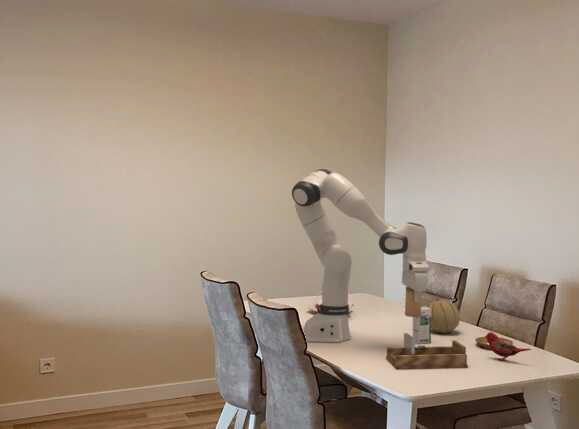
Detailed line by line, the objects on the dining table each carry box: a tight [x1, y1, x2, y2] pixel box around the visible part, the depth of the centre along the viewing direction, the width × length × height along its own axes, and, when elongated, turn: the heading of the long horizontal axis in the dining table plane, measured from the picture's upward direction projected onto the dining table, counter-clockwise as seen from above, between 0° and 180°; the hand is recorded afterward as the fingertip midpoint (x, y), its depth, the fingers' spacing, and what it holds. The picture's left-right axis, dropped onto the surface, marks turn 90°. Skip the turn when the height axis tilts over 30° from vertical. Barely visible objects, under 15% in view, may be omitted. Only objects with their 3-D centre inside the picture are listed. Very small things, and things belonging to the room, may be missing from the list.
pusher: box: [403, 332, 426, 355], centre depth 230 cm, size 6×9×9 cm
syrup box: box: [412, 305, 432, 345], centre depth 263 cm, size 6×6×14 cm
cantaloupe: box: [428, 298, 461, 334], centre depth 281 cm, size 15×15×15 cm
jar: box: [404, 286, 422, 318], centre depth 246 cm, size 6×6×11 cm
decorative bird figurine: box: [484, 331, 532, 362], centre depth 234 cm, size 3×18×10 cm, turn 50°
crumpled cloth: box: [307, 294, 355, 313], centre depth 320 cm, size 24×35×9 cm
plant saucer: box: [474, 336, 514, 350], centre depth 256 cm, size 15×15×3 cm
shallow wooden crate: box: [385, 340, 469, 371], centre depth 230 cm, size 26×14×7 cm, turn 97°
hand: (413, 299), depth 246 cm, fingers closed on jar, 6 cm apart
